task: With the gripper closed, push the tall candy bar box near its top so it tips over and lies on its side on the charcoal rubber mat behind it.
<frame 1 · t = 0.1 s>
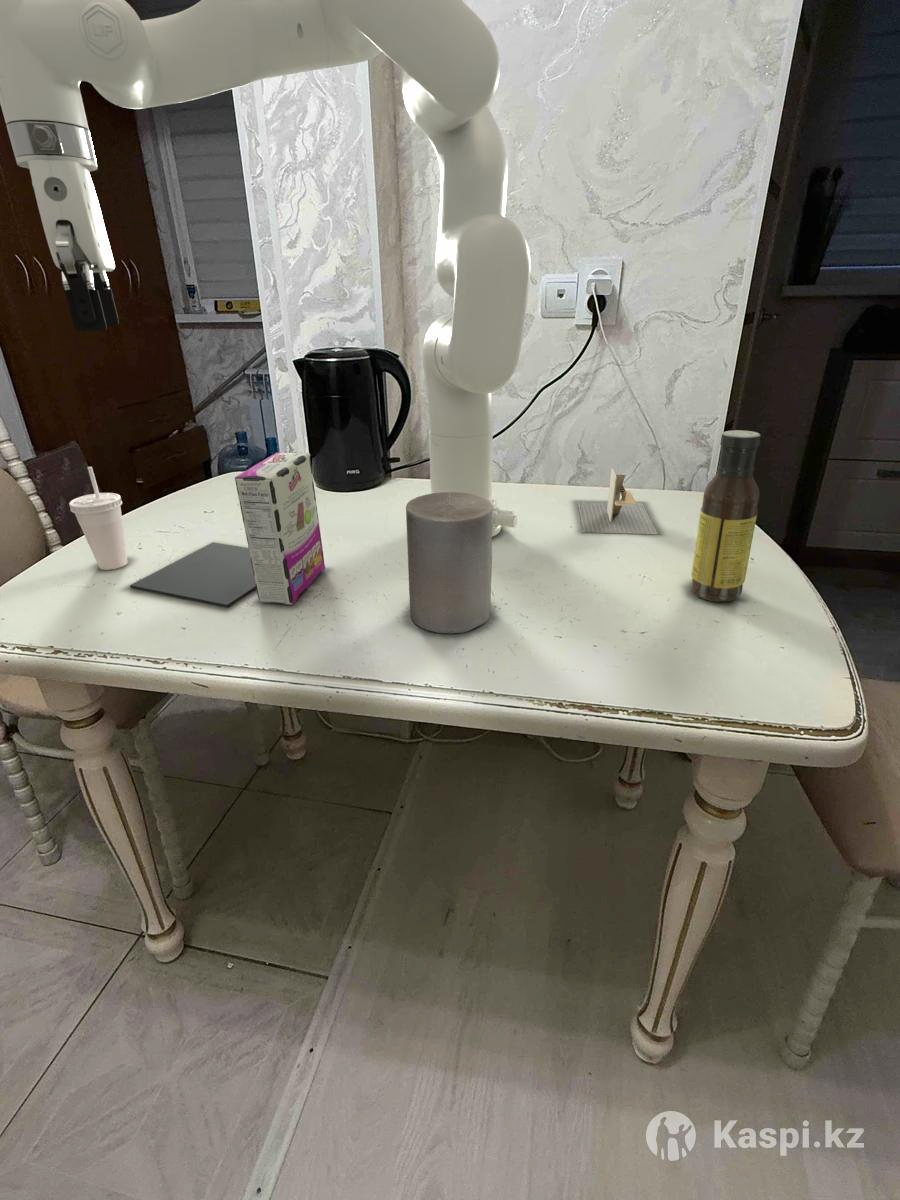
hand: (98, 327, 73), 31 cm above the table, tool pointing down, fingers open, 9 cm apart
sauce bottle: (713, 593, 79), on the table
architectural model: (614, 518, 104), on the table
mat: (219, 572, 86), on the table
pillar candle: (450, 615, 75), on the table
smoothie: (113, 565, 89), on the table
candy bar box: (292, 587, 82), on the table
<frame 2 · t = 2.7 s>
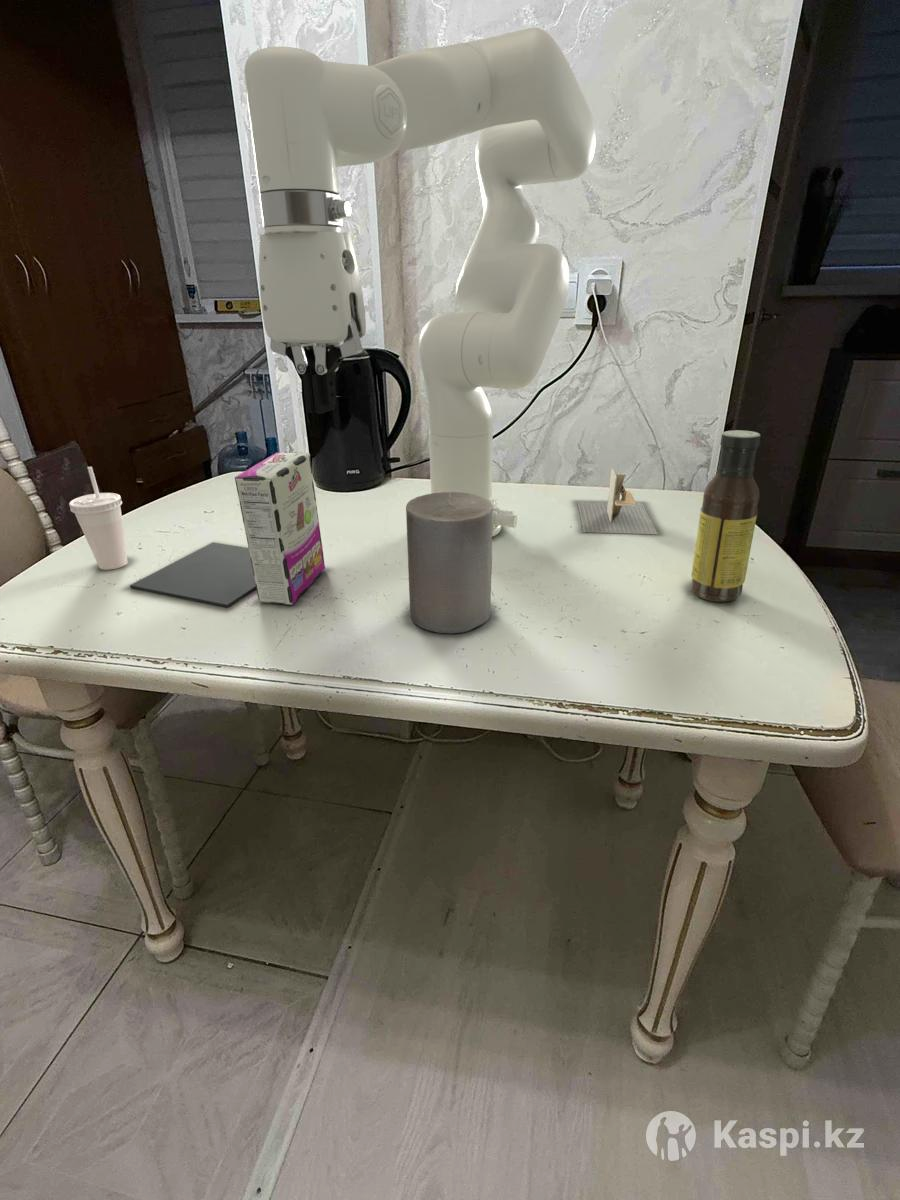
hand: (322, 410, 69), 23 cm above the table, tool pointing down, fingers closed
nothing on the table moved.
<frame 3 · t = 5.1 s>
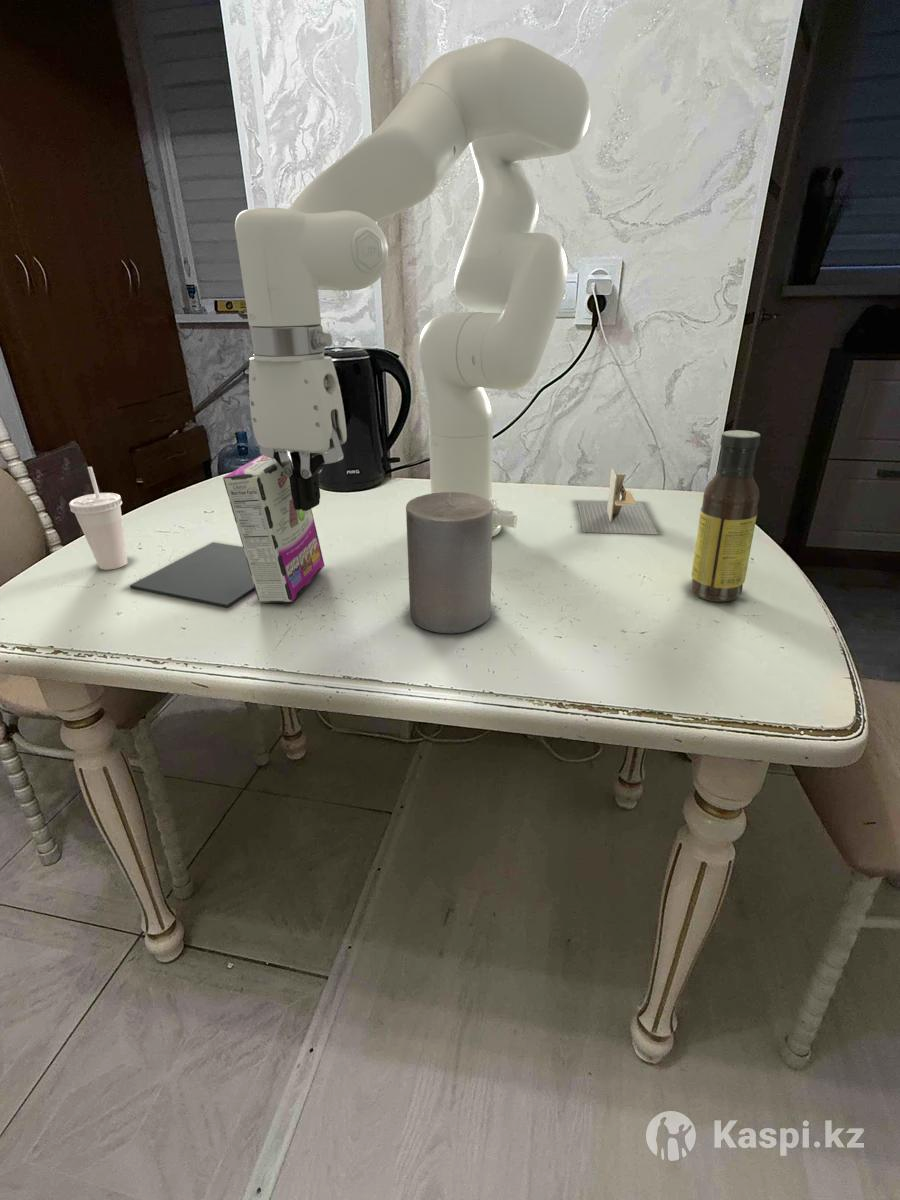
hand: (307, 506, 75), 11 cm above the table, tool pointing down, fingers closed
candy bar box: (292, 585, 82), on the table, touching gripper
everything else where it was.
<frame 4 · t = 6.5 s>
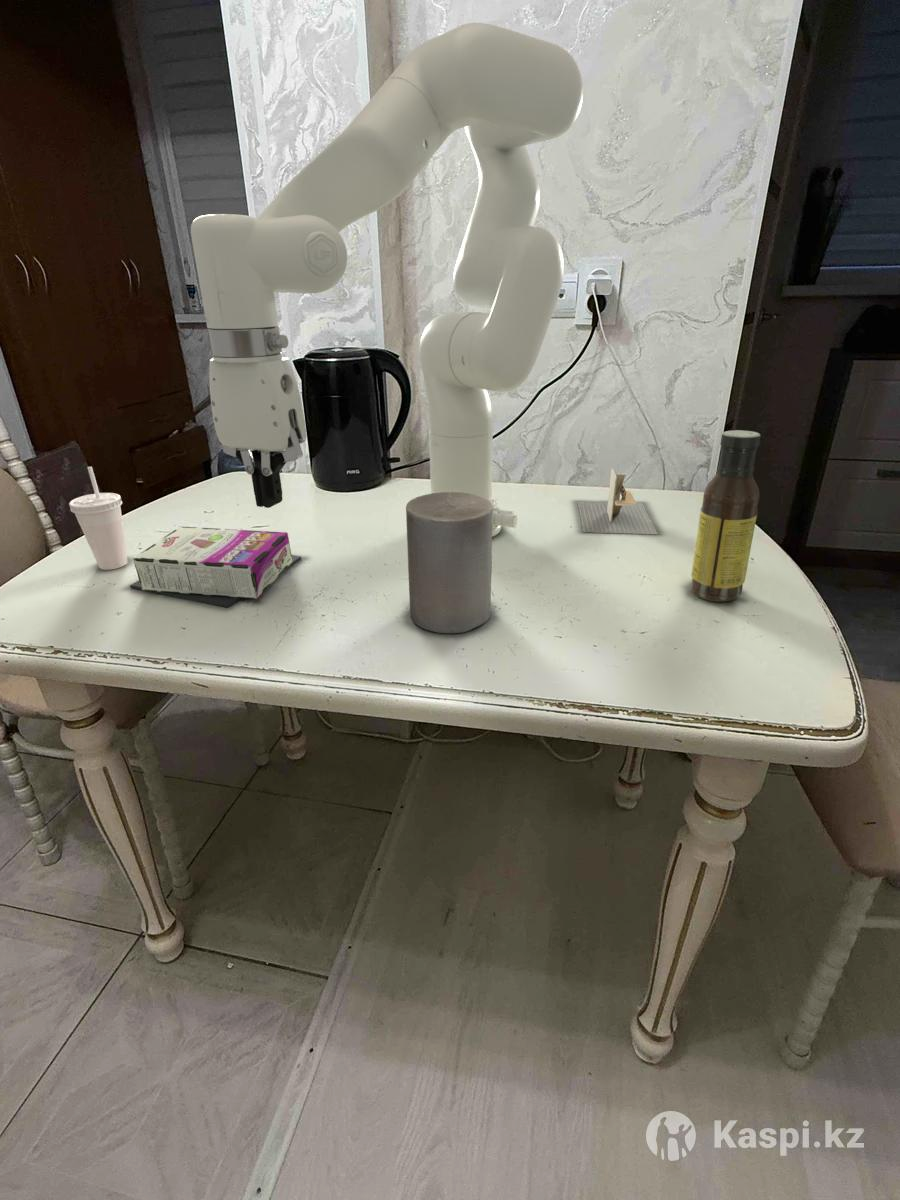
hand: (269, 503, 78), 11 cm above the table, tool pointing down, fingers closed
candy bar box: (275, 565, 81), point 3 cm above the table, touching mat
everything else where it was.
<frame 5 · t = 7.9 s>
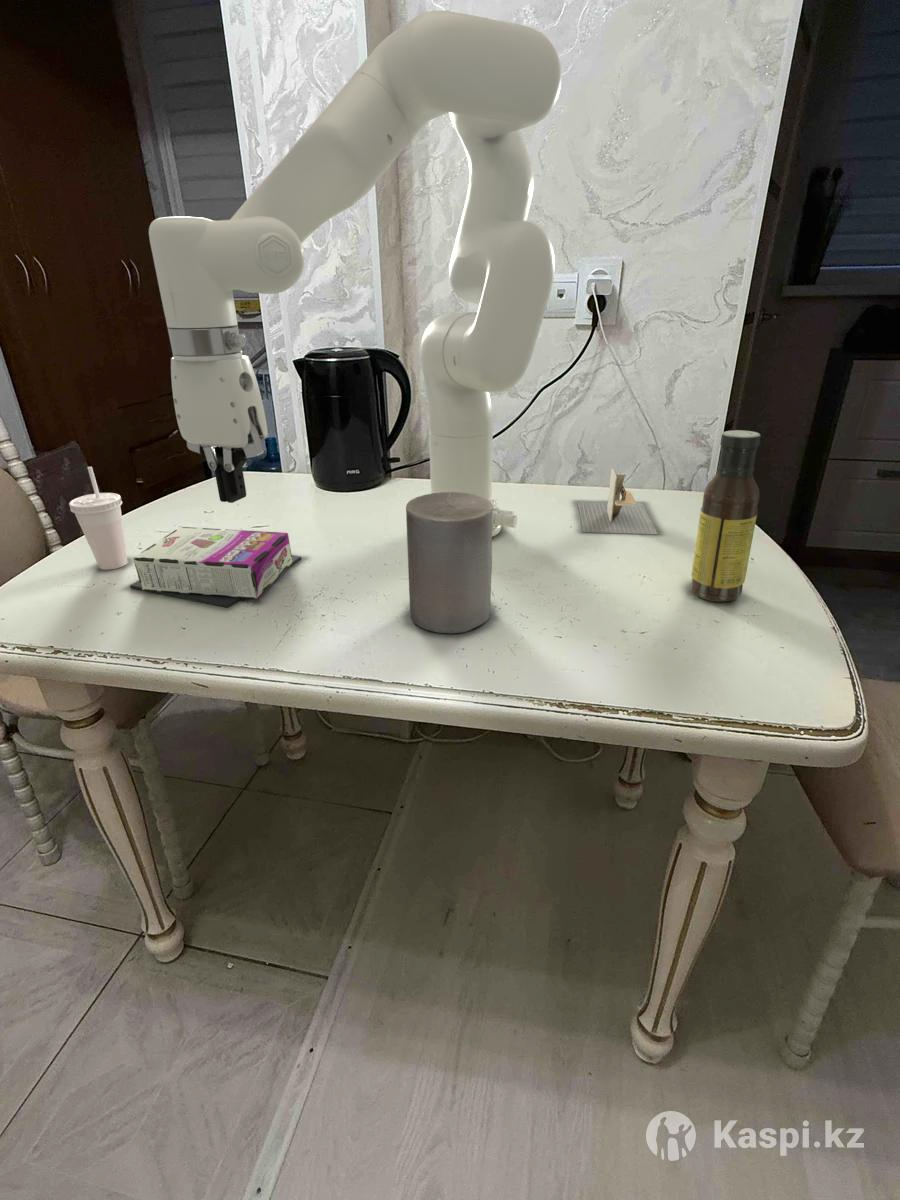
hand: (233, 498, 79), 11 cm above the table, tool pointing down, fingers closed
nothing on the table moved.
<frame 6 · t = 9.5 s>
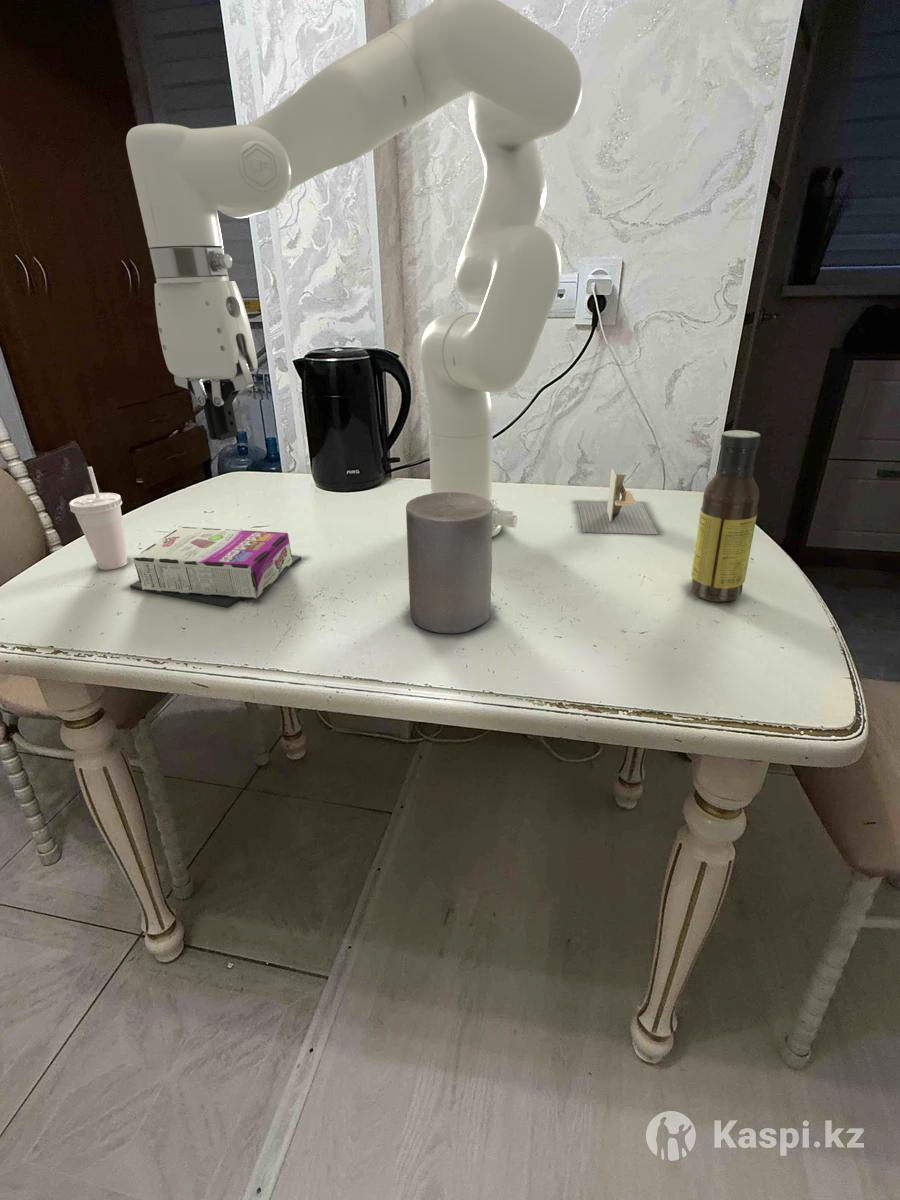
hand: (224, 437, 76), 19 cm above the table, tool pointing down, fingers closed
nothing on the table moved.
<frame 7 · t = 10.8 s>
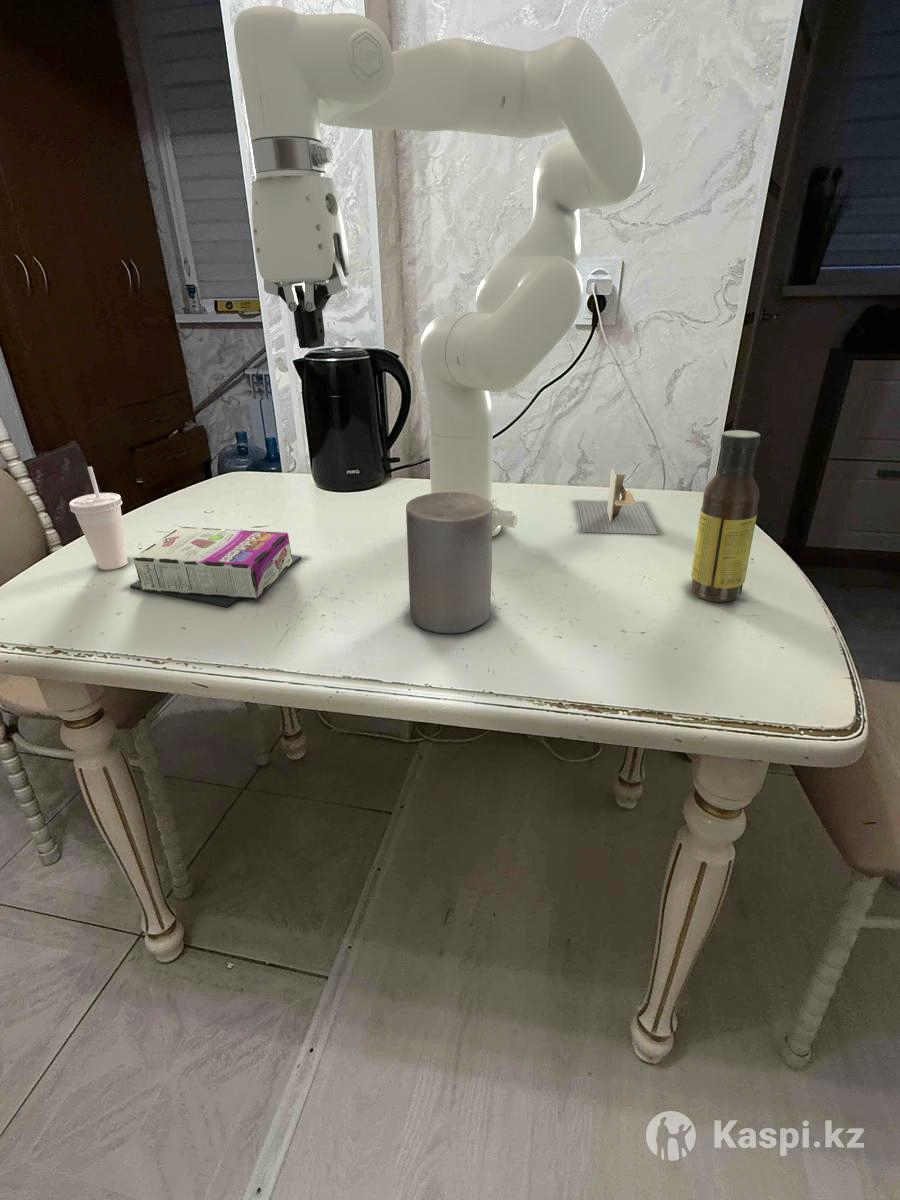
hand: (312, 346, 76), 29 cm above the table, tool pointing down, fingers closed
nothing on the table moved.
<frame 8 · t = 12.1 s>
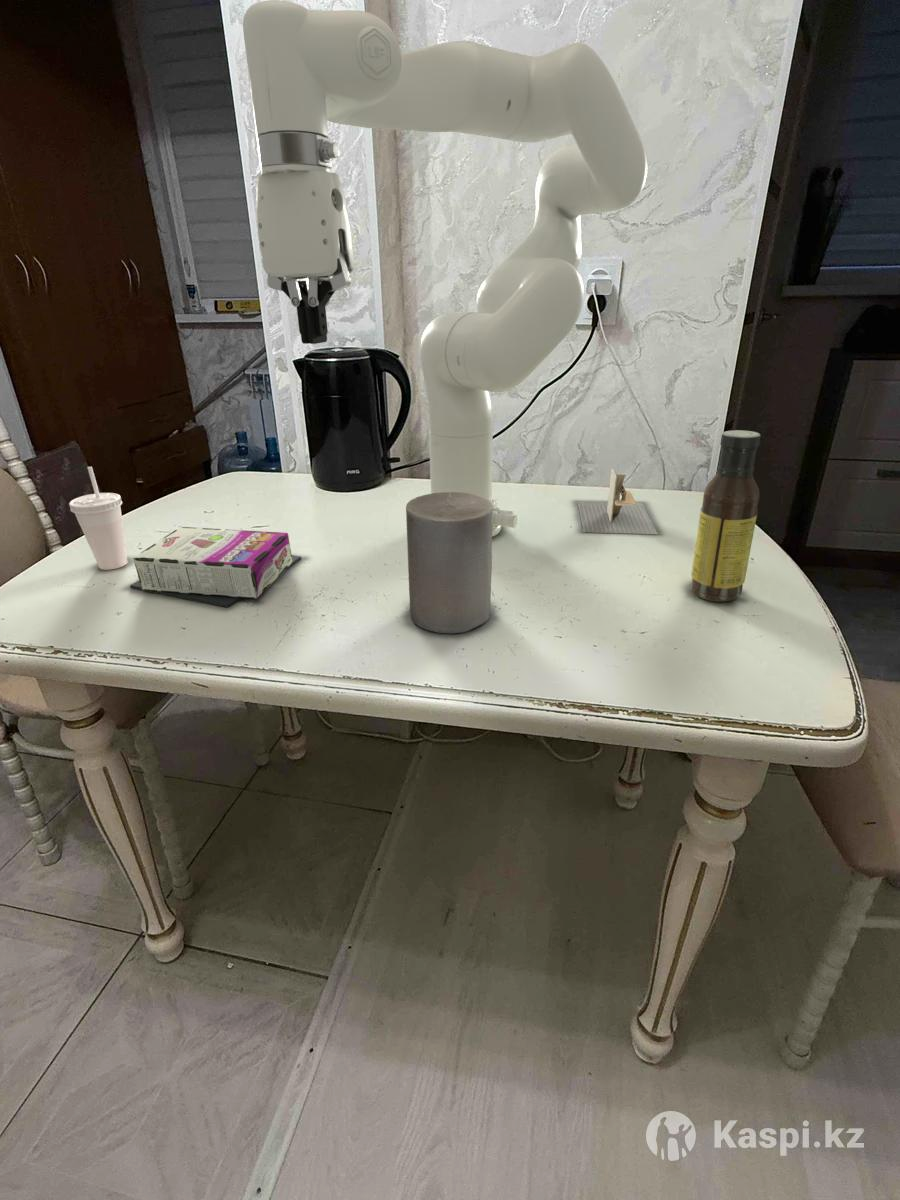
hand: (314, 342, 76), 29 cm above the table, tool pointing down, fingers closed
nothing on the table moved.
at the end: candy bar box tilted 89°; candy bar box touching mat; candy bar box inside the target area (8.5 cm from its centre), point 2.8 cm above the table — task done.
